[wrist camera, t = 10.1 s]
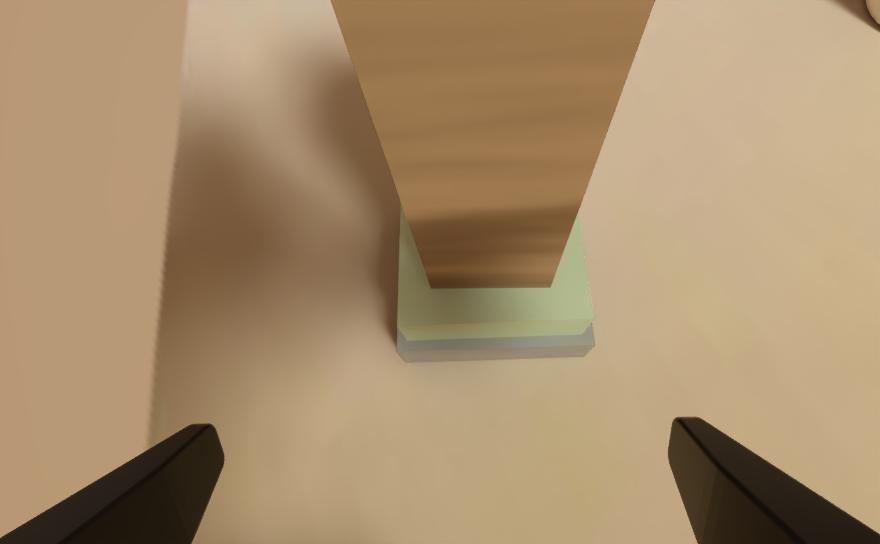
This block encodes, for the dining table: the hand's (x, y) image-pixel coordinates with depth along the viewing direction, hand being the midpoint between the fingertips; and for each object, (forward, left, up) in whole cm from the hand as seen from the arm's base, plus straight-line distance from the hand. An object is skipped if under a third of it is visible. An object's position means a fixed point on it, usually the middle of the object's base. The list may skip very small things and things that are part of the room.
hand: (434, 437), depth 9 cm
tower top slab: (+9, -1, -11) cm, 14 cm away
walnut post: (+9, -2, -8) cm, 12 cm away
